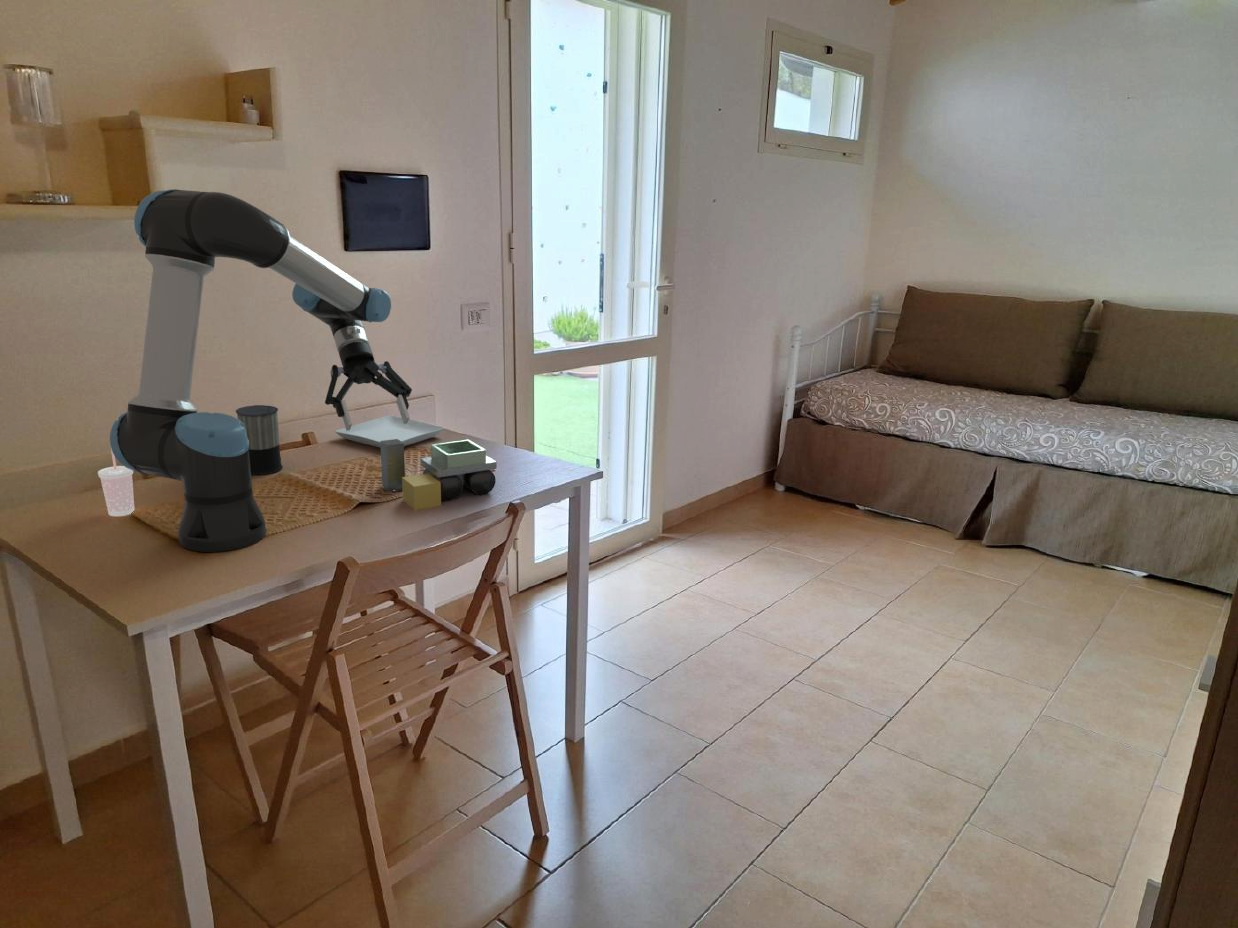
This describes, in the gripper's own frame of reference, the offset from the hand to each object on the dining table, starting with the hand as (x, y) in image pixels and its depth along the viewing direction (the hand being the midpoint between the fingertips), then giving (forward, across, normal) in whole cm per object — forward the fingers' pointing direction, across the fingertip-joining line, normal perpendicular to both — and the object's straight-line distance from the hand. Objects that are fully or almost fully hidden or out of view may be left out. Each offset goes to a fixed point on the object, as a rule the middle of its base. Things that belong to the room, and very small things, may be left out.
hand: (378, 424), depth 192 cm
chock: (+24, +2, -5) cm, 25 cm away
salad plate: (-12, +14, +31) cm, 36 cm away
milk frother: (-4, -26, +23) cm, 35 cm away
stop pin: (+15, 0, +3) cm, 16 cm away
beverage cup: (+8, -53, +11) cm, 55 cm away
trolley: (+22, +12, -3) cm, 25 cm away
